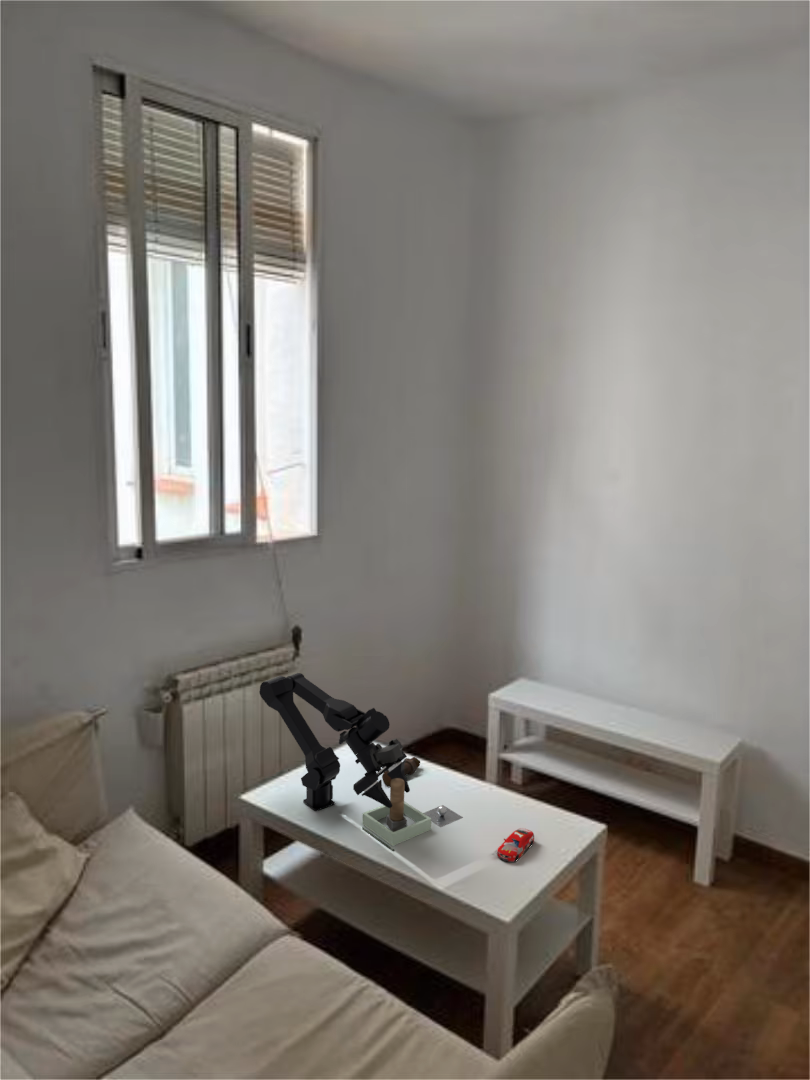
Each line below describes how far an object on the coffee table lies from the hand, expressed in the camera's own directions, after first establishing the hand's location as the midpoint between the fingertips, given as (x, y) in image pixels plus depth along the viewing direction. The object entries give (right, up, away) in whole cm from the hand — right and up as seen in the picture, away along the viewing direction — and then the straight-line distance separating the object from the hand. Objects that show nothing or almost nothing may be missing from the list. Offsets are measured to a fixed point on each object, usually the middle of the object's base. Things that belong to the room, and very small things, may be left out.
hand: (400, 799), depth 203 cm
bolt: (+1, -4, +32) cm, 32 cm away
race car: (+29, -12, -4) cm, 31 cm away
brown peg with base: (-1, -8, +2) cm, 8 cm away
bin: (-1, -9, +2) cm, 9 cm away
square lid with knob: (+11, -8, +8) cm, 16 cm away
